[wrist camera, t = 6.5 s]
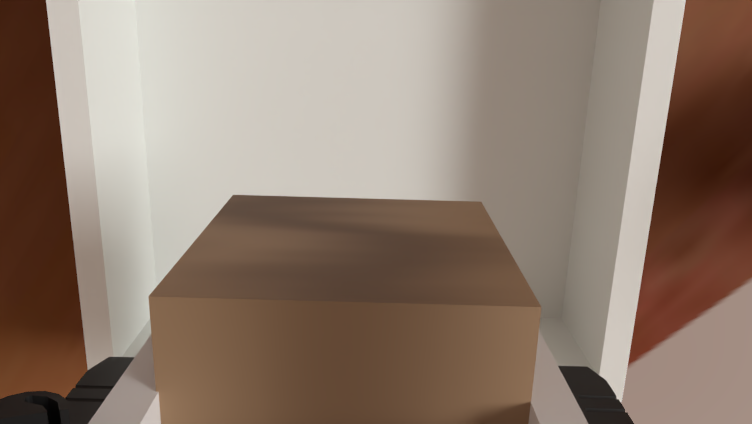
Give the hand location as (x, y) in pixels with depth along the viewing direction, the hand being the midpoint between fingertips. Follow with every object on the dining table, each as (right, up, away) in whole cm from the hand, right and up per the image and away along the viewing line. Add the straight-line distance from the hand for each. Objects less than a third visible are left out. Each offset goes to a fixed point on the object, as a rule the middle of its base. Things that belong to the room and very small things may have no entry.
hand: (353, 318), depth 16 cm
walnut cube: (0, 0, 0) cm, 0 cm away
